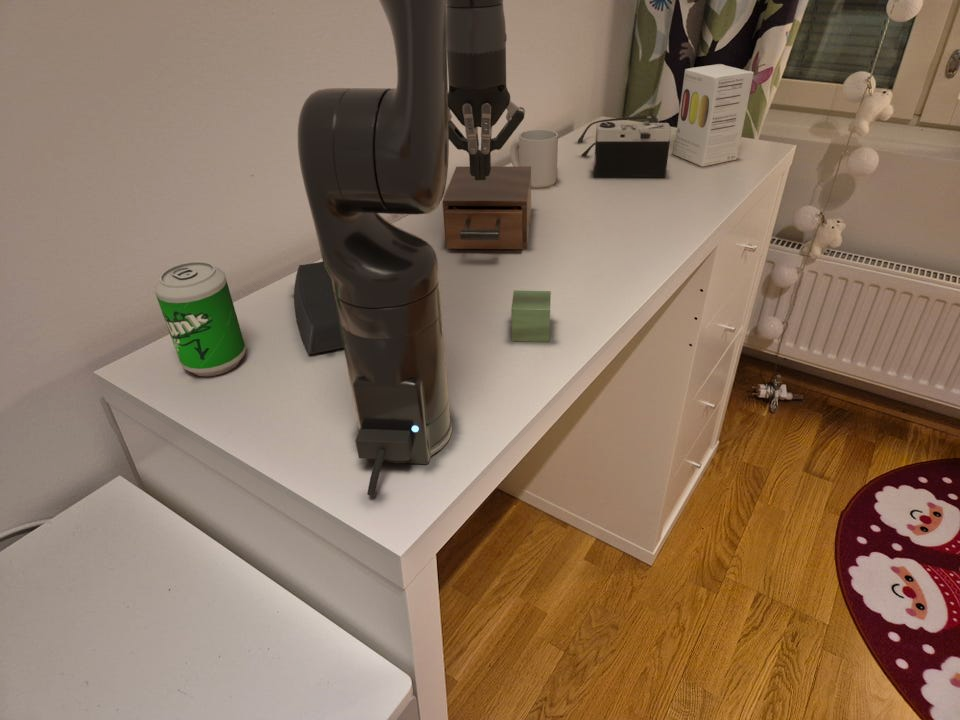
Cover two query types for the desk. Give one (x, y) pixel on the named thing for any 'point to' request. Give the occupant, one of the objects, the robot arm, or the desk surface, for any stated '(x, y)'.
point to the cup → (537, 155)
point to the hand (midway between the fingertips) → (481, 178)
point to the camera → (631, 150)
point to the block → (531, 316)
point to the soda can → (200, 318)
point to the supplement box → (712, 114)
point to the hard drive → (316, 309)
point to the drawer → (484, 227)
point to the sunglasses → (651, 117)
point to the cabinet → (492, 191)
